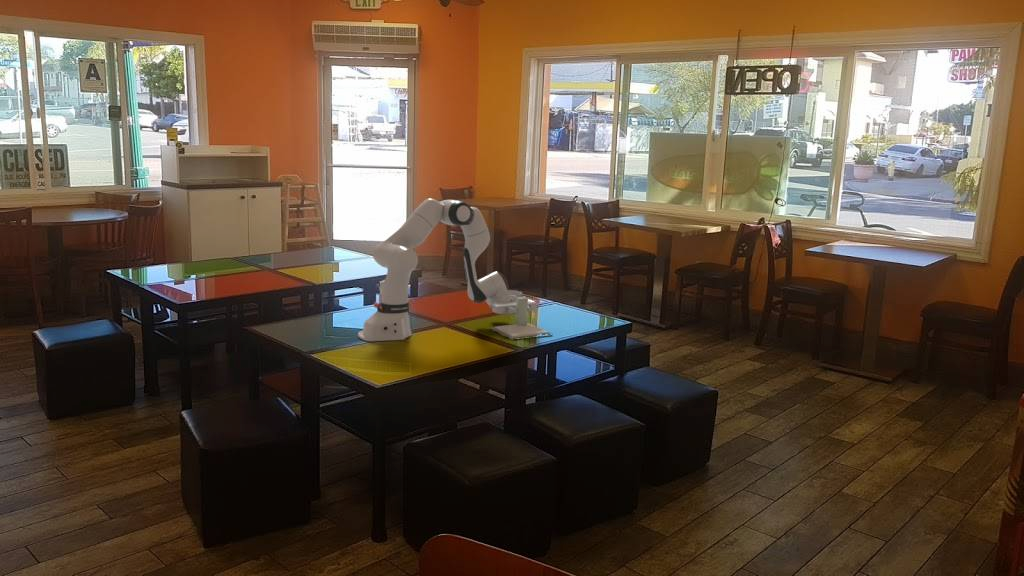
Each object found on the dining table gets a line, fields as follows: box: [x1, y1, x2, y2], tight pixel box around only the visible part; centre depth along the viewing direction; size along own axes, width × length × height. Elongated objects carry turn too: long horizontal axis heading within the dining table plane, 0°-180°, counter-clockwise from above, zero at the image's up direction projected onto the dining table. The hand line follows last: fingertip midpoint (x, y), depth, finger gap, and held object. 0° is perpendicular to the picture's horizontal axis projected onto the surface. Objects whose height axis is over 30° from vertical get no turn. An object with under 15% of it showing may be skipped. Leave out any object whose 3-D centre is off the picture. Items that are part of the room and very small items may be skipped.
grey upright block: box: [515, 296, 529, 326], centre depth 344 cm, size 5×5×12 cm
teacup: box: [508, 289, 523, 296], centre depth 395 cm, size 15×12×8 cm
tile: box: [490, 322, 552, 340], centre depth 346 cm, size 20×20×2 cm
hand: (522, 310), depth 343 cm, fingers closed on grey upright block, 5 cm apart
